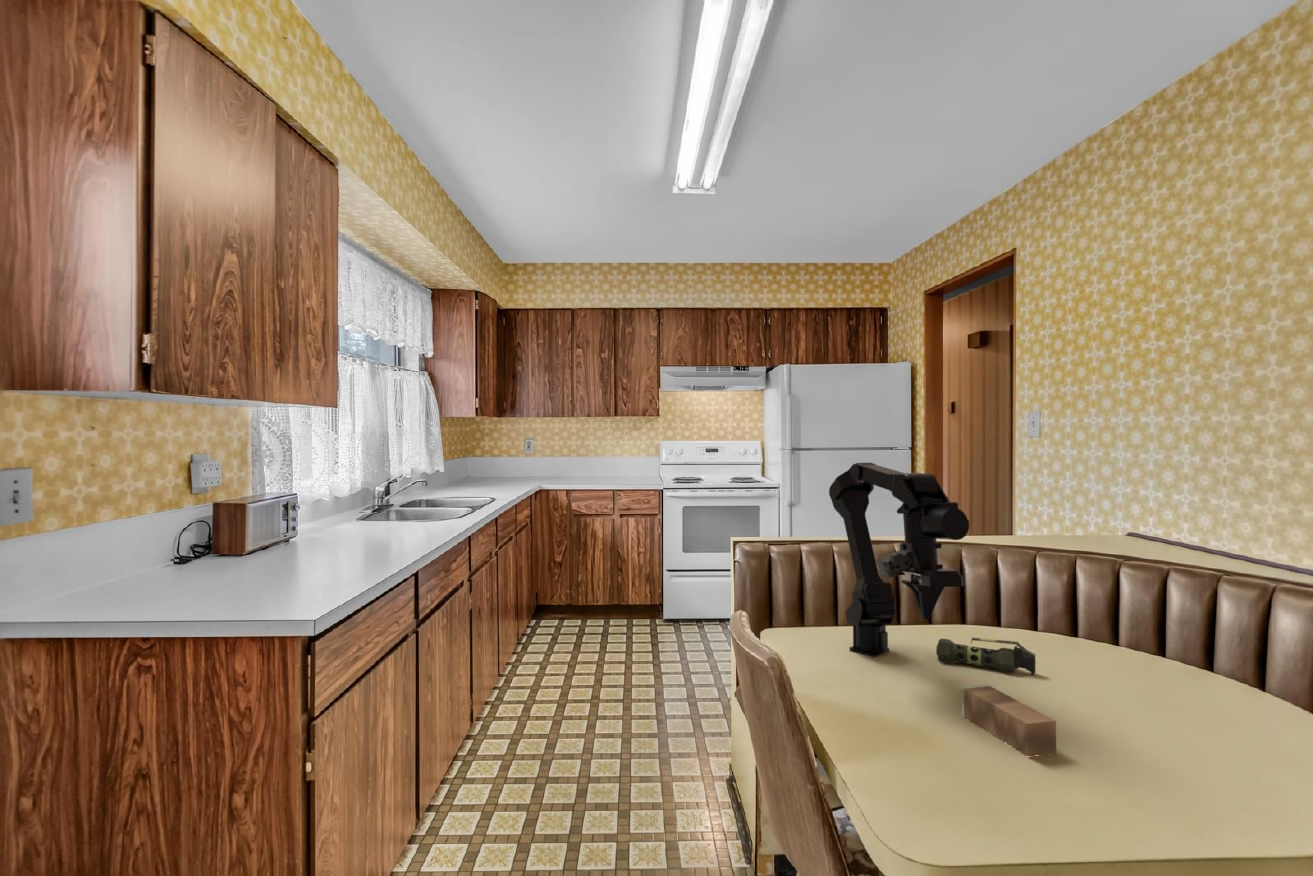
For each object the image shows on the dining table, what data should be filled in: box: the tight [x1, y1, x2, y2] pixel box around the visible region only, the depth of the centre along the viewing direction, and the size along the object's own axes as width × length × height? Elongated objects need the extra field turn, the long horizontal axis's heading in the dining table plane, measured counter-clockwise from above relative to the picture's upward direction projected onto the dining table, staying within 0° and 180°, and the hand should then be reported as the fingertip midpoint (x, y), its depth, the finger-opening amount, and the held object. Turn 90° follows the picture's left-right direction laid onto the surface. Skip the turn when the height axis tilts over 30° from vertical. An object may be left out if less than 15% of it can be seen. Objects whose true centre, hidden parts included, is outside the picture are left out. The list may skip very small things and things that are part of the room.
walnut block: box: [961, 684, 1057, 756], centre depth 98 cm, size 5×5×14 cm
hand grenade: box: [935, 637, 1036, 676], centre depth 127 cm, size 6×5×18 cm
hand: (925, 619), depth 118 cm, fingers closed
